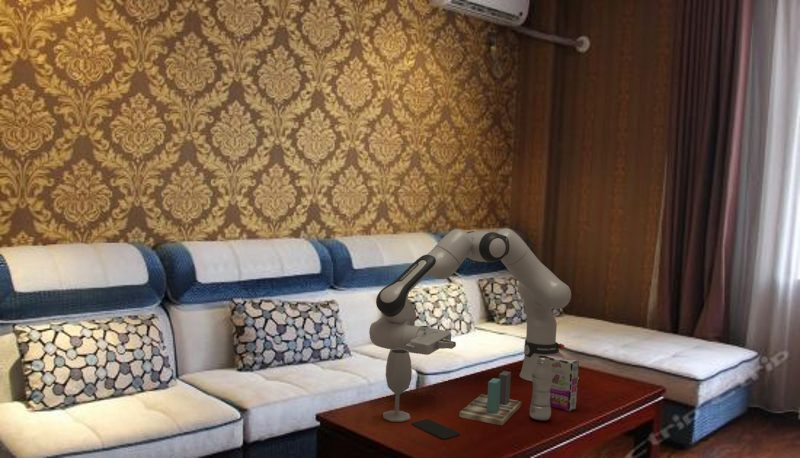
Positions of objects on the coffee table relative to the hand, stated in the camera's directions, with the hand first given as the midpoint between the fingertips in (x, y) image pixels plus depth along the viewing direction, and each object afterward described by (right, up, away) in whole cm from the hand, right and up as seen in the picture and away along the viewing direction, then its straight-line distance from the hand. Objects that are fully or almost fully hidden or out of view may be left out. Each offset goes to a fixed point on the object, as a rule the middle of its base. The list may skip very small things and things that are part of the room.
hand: (454, 345), depth 225 cm
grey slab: (+16, -20, +4) cm, 26 cm away
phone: (-7, -23, -17) cm, 29 cm away
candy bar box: (+35, -22, +9) cm, 43 cm away
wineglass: (-19, -21, -9) cm, 29 cm away
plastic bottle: (+27, -23, -4) cm, 35 cm away
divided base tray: (+12, -22, +1) cm, 25 cm away
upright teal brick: (+12, -20, -4) cm, 24 cm away
